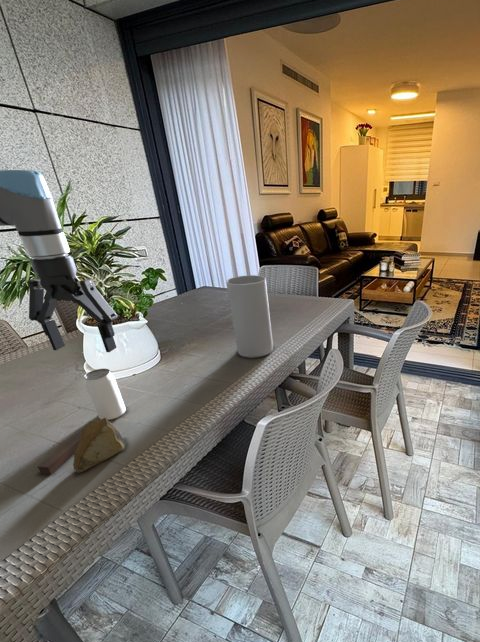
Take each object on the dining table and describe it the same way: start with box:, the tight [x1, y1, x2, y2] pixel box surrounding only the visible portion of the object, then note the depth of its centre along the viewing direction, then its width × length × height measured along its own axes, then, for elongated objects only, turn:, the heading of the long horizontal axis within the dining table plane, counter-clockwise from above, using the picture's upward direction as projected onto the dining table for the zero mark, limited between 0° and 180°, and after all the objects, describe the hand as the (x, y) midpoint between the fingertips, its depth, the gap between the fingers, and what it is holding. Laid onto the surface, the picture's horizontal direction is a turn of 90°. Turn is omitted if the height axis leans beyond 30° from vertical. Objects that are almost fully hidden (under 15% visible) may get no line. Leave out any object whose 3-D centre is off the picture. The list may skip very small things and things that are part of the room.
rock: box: [72, 418, 126, 474], centre depth 76 cm, size 11×9×10 cm
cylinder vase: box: [225, 274, 274, 359], centre depth 119 cm, size 12×12×25 cm
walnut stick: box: [36, 420, 94, 475], centre depth 80 cm, size 16×2×2 cm, turn 173°
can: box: [84, 368, 127, 421], centre depth 89 cm, size 6×6×12 cm
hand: (85, 349), depth 84 cm, fingers open, 13 cm apart
